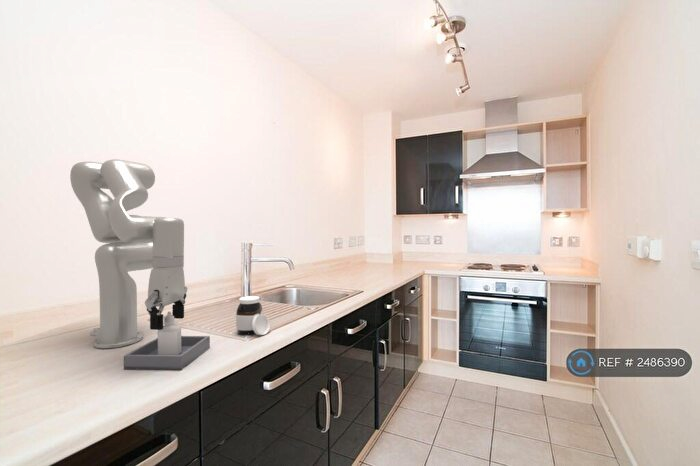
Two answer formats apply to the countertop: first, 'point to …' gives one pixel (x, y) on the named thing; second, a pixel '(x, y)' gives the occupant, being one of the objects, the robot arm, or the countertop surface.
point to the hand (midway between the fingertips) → (168, 323)
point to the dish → (150, 359)
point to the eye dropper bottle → (169, 337)
